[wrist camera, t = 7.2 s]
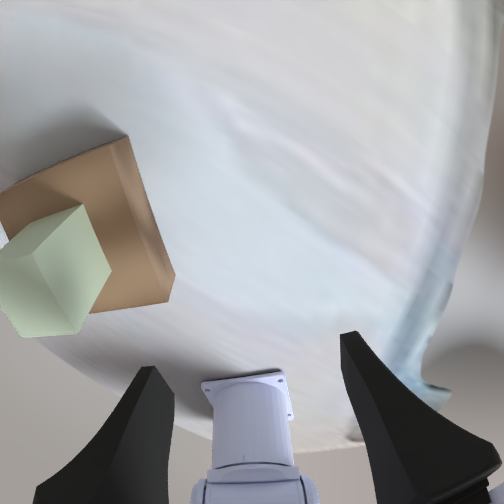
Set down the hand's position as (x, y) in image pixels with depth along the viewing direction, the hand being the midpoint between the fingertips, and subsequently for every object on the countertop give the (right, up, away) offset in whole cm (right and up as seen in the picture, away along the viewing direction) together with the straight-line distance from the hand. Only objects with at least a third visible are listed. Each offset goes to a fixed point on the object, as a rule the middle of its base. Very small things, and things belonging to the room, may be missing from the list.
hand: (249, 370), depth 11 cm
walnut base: (-11, +6, +8) cm, 15 cm away
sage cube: (-11, +5, +5) cm, 13 cm away
